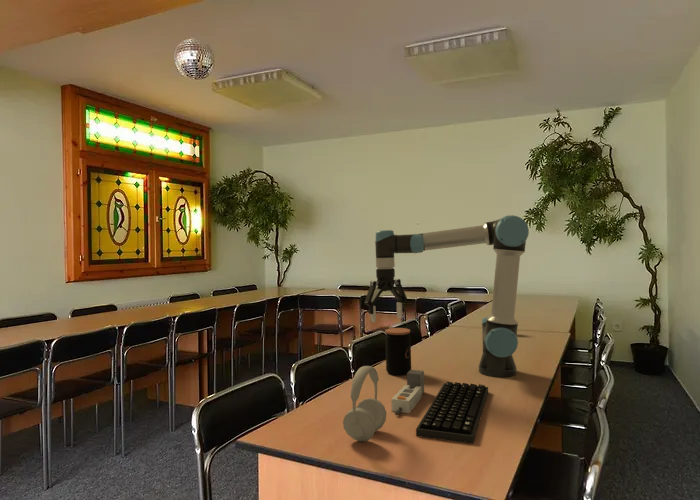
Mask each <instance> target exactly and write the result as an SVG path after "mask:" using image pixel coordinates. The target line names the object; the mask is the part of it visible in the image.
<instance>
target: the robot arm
mask: <svg viewBox="0 0 700 500" xmlns="http://www.w3.org/2000/svg"><path fill="white" fill-rule="evenodd" d="M528 226H529V225H528V223H527V222H526V221H525V220H524V219H523V217H522V218H521V217H520V216H518V215H510V214H509V215H505V216H503V217H501V218H500V219H496V220H493V221H488V222H484V224H482V225H475V226H474V225H473V226H467V227H466V226H465V227H461V228H460V227H459V228H451V229H446V230H439V231H438V230H437V231H429V232H423V233H413V234H395V232H394V230H392V229H389V230H387V229H385V230H384V229H383V230H378V231H376V232H375V242H374V243H375V267H376V269H375V275H376V280H371V281H370V283H369V288H368V291H367V294H366V297H365V300H364V302H363V303H364V305H366V306H368V314H369V315H370V323H371V322H372V323H376V322H377V317H376V316H377V313H376V312H377V311H376V305H375V304H376V302H377V301H378V299H379V297H380V296H381V294H382V293H383V292H390V293H391V294H392V295H393V296H394V297H395V299H396V300H397V302H396V319H403V311H404V303H405V302H406V301H408V298H407V295H406V293H405V290H404V288H403V285H402V282H401V281H402V280H401V279H400V278H395V276H396V274H395V273H396V271H395V266H396V265H395V254H421V253H423V252H424V251H425V252H426V251H432V250H433V251H434V250H439V249H442V250H443V249H450V248H457V247H464V246H465V247H466V246H472V245H473V246H474V245H481V244H483V245H484V244H485V245H487V246H492V247H493V248H492V249H493V251H494V252H495V253H496V260H495V269H494V282H493V288H492V291H493V292H492V302H491V313H490V315H489V316H486V317H485V316H484V317H483V318H482V320H481V329H482V331H481V333H482V334H481V335H482V339H481V340H482V354H481V358H480V361H479V364H478V372H479V373H480V374H482V375H485V376H488V377H498V378H503V377H504V378H508V377H514V376H516V375H517V366H516V363H515V359H514V357H513V354H514V353H515V352H516V350H517V349H518V346H519V341H518V335H517V334H518V327H519V326H518V325H519V324H518V320H516V318H515V313H516V301H517V289H518V281H519V270H520V260H521V256H522V255H523V254H524V253H525V252H526V245H527V244H526V243H527V240H528V238H529V235H530V234H529V233H530V232H529V231H530V230H529V227H528ZM394 285H395V286H394Z"/></svg>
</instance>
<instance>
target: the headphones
mask: <svg viewBox="0 0 700 500" xmlns="http://www.w3.org/2000/svg"><path fill="white" fill-rule="evenodd" d="M368 376H369V378H370V380H371V382H372V383H373V386H374V398H371V397H369V398H364V399H362V400H361V401H359V402H358V403H357V401H358V400H359V397H360V393H361V391H362V387H363V384H364V382H365V379H366V378H367V377H368ZM378 382H379V374H378V371H377V369H376V368H375V367H374V366H371V365H363V366H361V367H359V368H358V369H357V371H356V372H355V374H354V376H353V379H352V383H351V389H350V399H351V401H352V409H350V410H348V411H347V413H346V414H345V416H344V418H343V419H342V425H343V429H344V431H345V433H346V434H347V435H348V436H349V438H351V439H352V440H354V441H357V442H368V441H370V440H371V439H372V438H373V436H374V434H375V432H376V431H378V430H380V429H381V428H383V426H384V425H385V422H386V421H387V410H386V407H385V405H384V404H383V403H382V402H381V401H380V400H378Z"/></svg>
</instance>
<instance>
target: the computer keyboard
mask: <svg viewBox="0 0 700 500" xmlns="http://www.w3.org/2000/svg"><path fill="white" fill-rule="evenodd" d="M488 395H489V386H486V385H484V384H481V383H479V384H478V385H477V384H474V383H470V385H469V383H466V382H463V383H461V382H456V381H455V382H452V381H446V382H444V383H443V384H442V386H441V388H440V389H439V391H438V392H437V394H436V396H435V397H434V399H433V401H432V402H431V404H430V406H429V407H428V409H427V410H426V412H425V414H424V416H423V417H422V419H421V421H420V422H419V424H418V425H417V427H416V428H415V436H416V437H418V436H422V437H421V438H426V437H427V438H428V439H433V438H436V439H435V440H441V439H442V440H443V441H448V440H449V442H457V443H465V444H471V443H472V444H474V441H475V437H476V435H477V432H478V429H477V428H479V425H480V422H481V419H480V418H482V415H483V412H484V408H485V404H486V402H487V398H488ZM476 431H477V432H476Z"/></svg>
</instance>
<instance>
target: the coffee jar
mask: <svg viewBox="0 0 700 500" xmlns="http://www.w3.org/2000/svg"><path fill="white" fill-rule="evenodd" d="M384 331H385V336H384V337H385V371H386V372H387V374H389V375H392V376H407V373H408V372H409V371H410V370H412V348H411V347H412V346H411V345H412V344H411V343H412V341H411V337H412V336H411V335H410V333H411V329H410V328H407V327H404V328H403V327H392V328H386V329H385V330H384Z"/></svg>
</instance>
